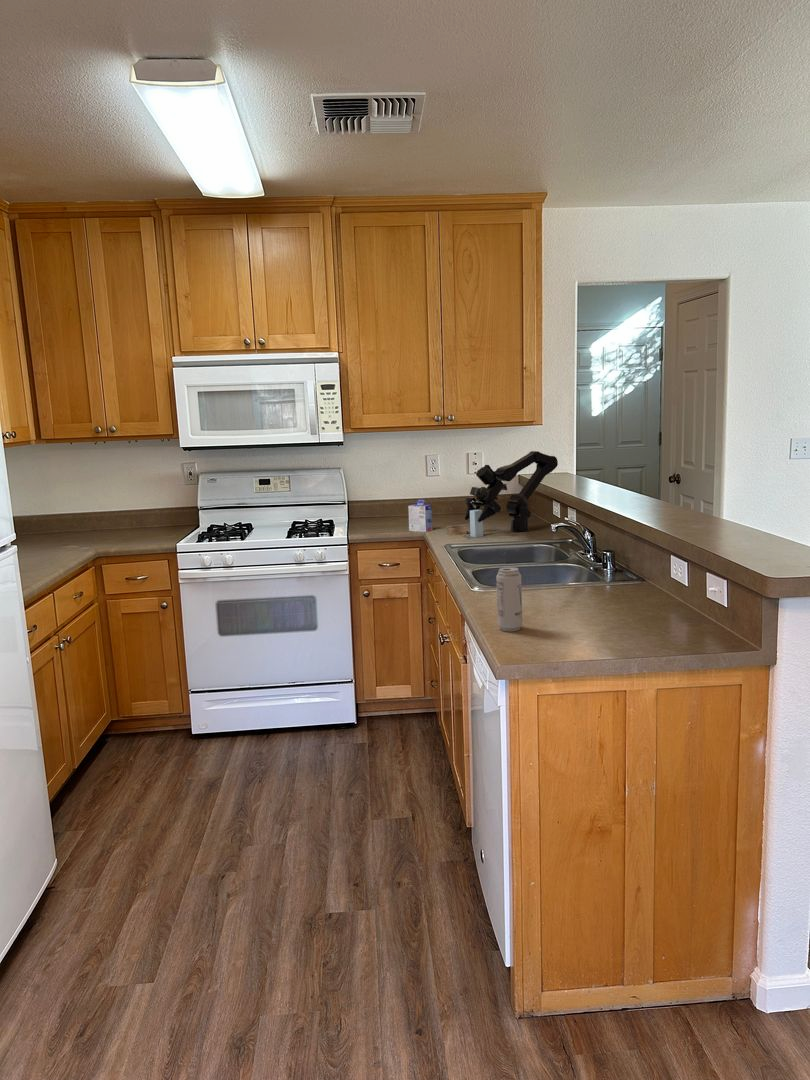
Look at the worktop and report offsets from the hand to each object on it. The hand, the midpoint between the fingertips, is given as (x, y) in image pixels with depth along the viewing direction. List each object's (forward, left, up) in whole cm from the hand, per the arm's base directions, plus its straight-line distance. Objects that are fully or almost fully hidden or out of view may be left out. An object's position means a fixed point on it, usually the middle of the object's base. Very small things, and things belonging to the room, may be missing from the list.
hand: (471, 520), depth 316 cm
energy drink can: (+30, +130, -8) cm, 134 cm away
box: (+4, -11, -8) cm, 14 cm away
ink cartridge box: (+16, -28, -8) cm, 33 cm away
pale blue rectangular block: (-2, -1, -7) cm, 7 cm away
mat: (-1, 0, -8) cm, 8 cm away
